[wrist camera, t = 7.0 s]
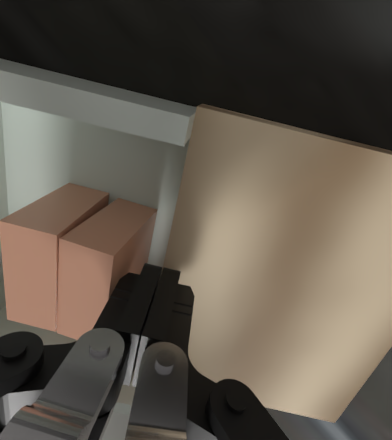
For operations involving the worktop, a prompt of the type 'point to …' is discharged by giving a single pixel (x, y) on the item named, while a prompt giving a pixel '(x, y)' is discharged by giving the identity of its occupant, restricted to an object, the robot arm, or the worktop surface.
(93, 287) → the tile
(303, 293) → the wooden slab
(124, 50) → the worktop surface
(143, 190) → the box
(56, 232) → the tile
